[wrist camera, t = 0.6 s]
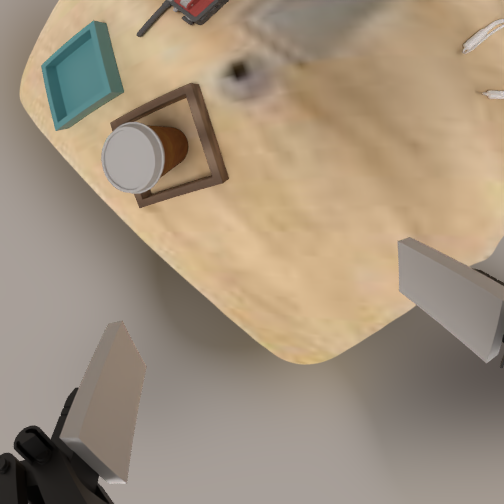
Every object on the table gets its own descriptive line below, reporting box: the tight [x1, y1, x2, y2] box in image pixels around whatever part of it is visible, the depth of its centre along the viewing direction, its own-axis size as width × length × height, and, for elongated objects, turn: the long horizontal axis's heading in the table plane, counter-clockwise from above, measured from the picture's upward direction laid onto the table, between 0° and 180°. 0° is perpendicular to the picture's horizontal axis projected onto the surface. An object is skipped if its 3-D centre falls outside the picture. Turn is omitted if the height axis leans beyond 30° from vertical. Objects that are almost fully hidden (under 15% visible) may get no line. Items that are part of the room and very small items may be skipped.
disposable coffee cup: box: [102, 122, 188, 194], centre depth 38 cm, size 10×10×12 cm
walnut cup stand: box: [110, 83, 229, 208], centre depth 42 cm, size 15×15×3 cm
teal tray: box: [41, 21, 124, 131], centre depth 39 cm, size 15×15×4 cm
